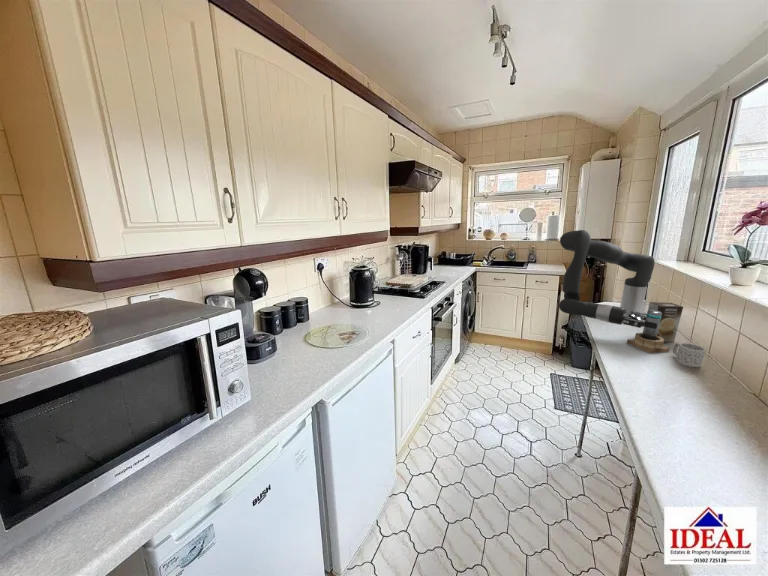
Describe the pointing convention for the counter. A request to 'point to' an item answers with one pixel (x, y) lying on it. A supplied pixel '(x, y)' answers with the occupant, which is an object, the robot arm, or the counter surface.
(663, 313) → the coffee box
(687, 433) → the counter surface
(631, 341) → the dock
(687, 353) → the mug
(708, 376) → the counter surface
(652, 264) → the robot arm
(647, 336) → the cylinder
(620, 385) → the counter surface
